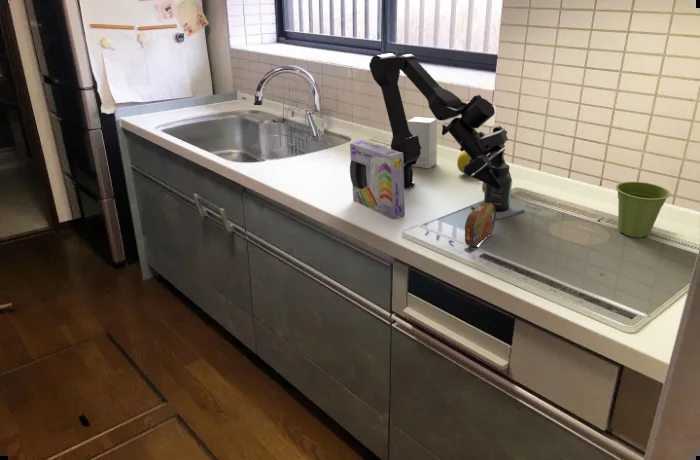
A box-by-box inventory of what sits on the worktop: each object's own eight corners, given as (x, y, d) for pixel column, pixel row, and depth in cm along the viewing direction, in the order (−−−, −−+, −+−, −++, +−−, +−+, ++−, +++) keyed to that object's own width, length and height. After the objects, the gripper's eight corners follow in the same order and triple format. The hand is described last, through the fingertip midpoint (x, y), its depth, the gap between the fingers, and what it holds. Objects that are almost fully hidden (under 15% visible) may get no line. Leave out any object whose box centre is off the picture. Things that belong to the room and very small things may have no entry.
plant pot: (620, 243, 139) (628, 199, 135) (600, 223, 150) (607, 181, 146) (670, 242, 139) (680, 198, 135) (647, 222, 150) (655, 180, 146)
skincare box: (437, 164, 198) (438, 118, 191) (428, 169, 193) (430, 122, 186) (414, 160, 202) (415, 115, 195) (405, 165, 197) (406, 120, 190)
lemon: (474, 177, 184) (475, 153, 181) (456, 176, 185) (457, 152, 182) (474, 172, 189) (476, 148, 186) (456, 171, 190) (458, 147, 187)
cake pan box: (349, 200, 169) (347, 140, 161) (363, 196, 171) (362, 137, 164) (391, 220, 154) (392, 156, 147) (405, 216, 157) (407, 152, 150)
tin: (473, 252, 136) (476, 219, 133) (461, 250, 138) (463, 217, 134) (495, 230, 148) (498, 198, 144) (483, 227, 149) (486, 196, 146)
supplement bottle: (514, 208, 159) (519, 166, 154) (496, 214, 155) (500, 171, 150) (496, 201, 164) (500, 160, 159) (478, 206, 161) (481, 164, 156)
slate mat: (497, 219, 154) (497, 217, 153) (470, 208, 161) (471, 206, 161) (524, 211, 158) (524, 209, 158) (496, 200, 166) (497, 198, 166)
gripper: (478, 126, 144) (519, 175, 144) (500, 111, 159) (537, 155, 158) (447, 153, 151) (485, 200, 150) (470, 136, 166) (505, 178, 165)
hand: (504, 182), depth 156 cm, fingers open, 9 cm apart
